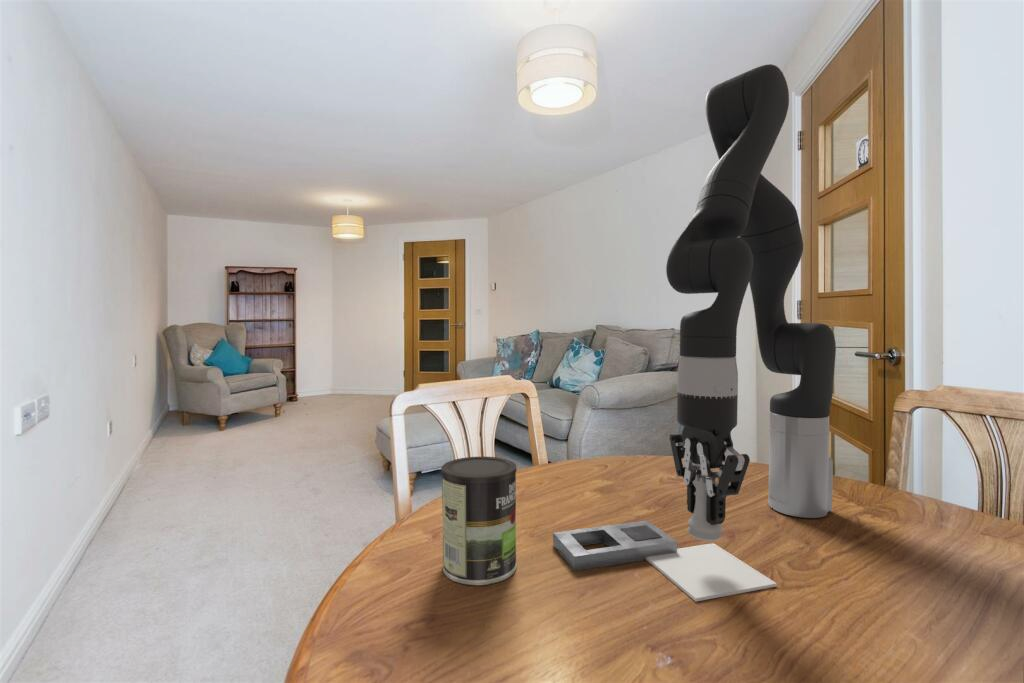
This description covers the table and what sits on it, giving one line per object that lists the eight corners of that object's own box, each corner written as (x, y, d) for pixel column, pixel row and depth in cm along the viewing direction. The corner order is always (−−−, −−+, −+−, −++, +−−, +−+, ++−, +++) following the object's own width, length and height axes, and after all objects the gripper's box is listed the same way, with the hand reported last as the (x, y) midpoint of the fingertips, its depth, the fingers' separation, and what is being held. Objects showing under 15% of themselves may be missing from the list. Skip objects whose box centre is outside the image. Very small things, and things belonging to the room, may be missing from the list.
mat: (713, 545, 75) (713, 543, 75) (776, 586, 63) (776, 583, 63) (642, 556, 71) (642, 553, 71) (695, 601, 60) (695, 598, 60)
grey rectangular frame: (647, 532, 80) (647, 519, 80) (676, 555, 72) (677, 540, 72) (553, 545, 75) (553, 531, 75) (574, 571, 67) (574, 555, 67)
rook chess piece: (725, 543, 65) (726, 482, 64) (689, 540, 65) (690, 480, 65) (718, 529, 69) (719, 472, 69) (685, 527, 70) (685, 470, 70)
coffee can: (526, 555, 72) (526, 459, 71) (500, 592, 62) (500, 481, 62) (462, 545, 76) (461, 453, 75) (428, 578, 66) (426, 472, 65)
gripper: (770, 396, 61) (768, 535, 61) (697, 383, 74) (695, 497, 75) (718, 399, 59) (716, 543, 59) (653, 384, 72) (651, 502, 73)
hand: (705, 516), depth 67 cm, fingers closed on rook chess piece, 3 cm apart
